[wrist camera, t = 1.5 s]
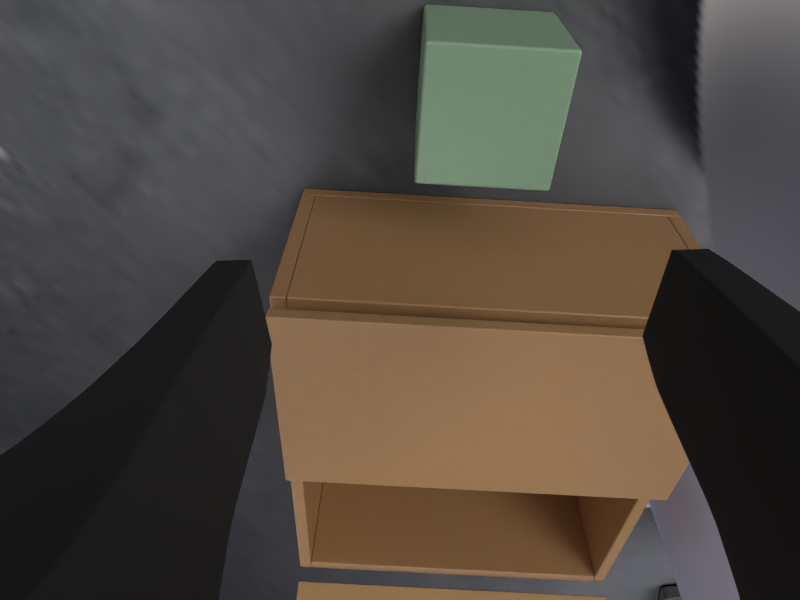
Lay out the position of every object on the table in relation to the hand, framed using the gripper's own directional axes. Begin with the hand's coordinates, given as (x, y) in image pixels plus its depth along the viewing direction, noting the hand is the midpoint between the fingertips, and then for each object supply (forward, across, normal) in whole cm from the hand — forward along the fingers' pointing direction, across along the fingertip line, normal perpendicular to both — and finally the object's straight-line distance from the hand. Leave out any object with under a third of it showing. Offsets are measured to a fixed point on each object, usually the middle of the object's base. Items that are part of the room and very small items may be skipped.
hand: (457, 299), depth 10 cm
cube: (+11, -2, 0) cm, 11 cm away
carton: (+11, -2, +13) cm, 17 cm away
